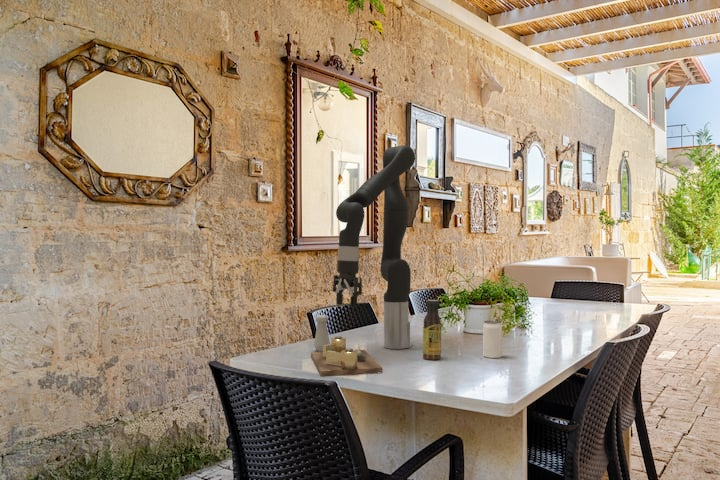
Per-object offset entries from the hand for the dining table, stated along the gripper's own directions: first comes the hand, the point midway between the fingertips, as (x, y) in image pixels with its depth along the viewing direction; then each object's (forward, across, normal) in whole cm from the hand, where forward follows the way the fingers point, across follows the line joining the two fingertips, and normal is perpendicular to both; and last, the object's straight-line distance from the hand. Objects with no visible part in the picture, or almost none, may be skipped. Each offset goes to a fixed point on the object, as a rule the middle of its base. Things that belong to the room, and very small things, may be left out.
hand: (346, 305), depth 205 cm
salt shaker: (+18, +13, +1) cm, 22 cm away
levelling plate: (+18, -10, +7) cm, 22 cm away
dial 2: (+16, -18, +13) cm, 28 cm away
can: (+15, -33, -40) cm, 53 cm away
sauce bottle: (+16, -22, -21) cm, 35 cm away
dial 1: (+16, -2, +6) cm, 18 cm away
